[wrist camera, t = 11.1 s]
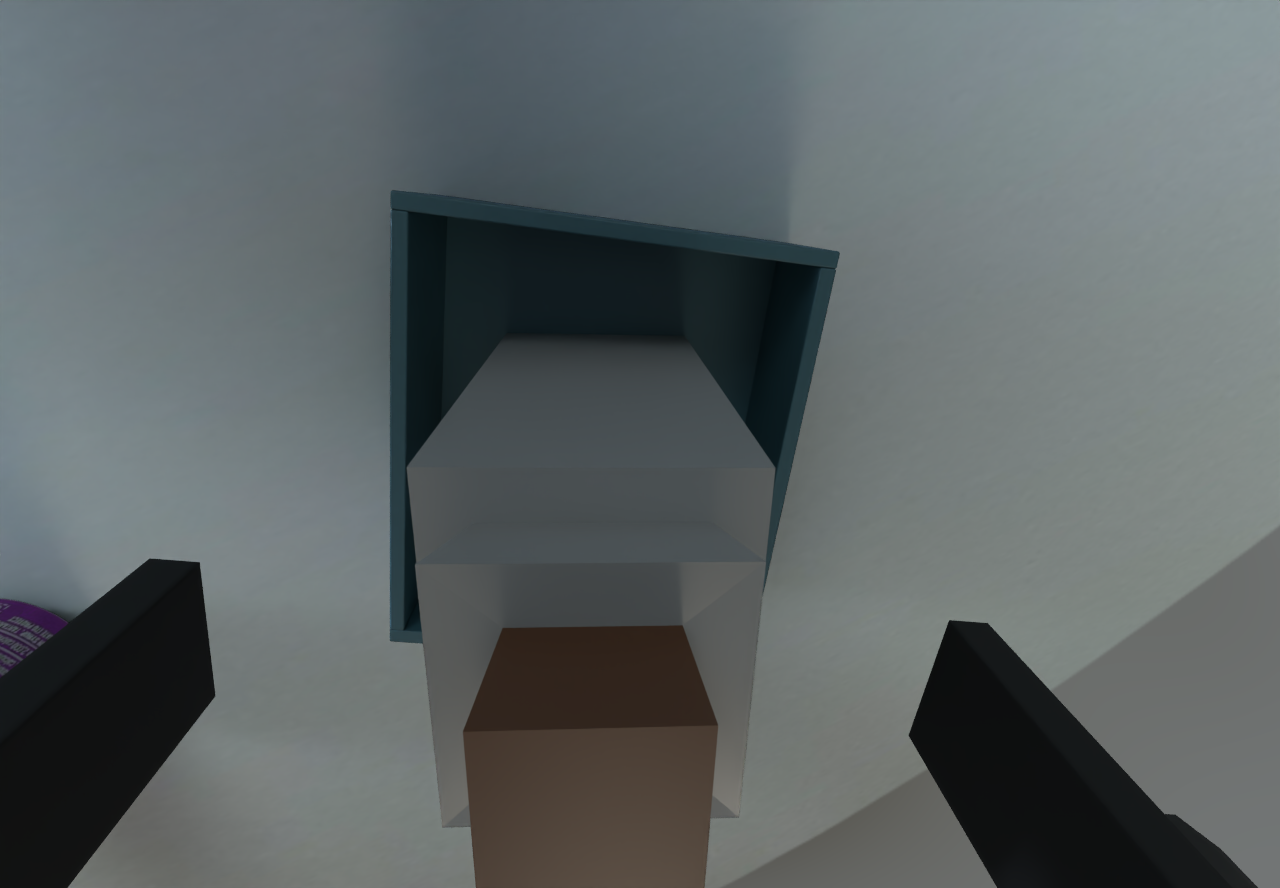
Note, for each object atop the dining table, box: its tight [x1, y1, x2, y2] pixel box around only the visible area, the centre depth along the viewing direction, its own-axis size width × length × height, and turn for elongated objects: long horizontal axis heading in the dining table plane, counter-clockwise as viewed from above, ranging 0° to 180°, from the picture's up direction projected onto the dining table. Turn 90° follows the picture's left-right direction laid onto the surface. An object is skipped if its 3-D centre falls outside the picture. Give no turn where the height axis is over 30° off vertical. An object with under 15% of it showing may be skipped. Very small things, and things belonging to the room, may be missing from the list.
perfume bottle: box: [407, 333, 775, 888], centre depth 17 cm, size 7×7×18 cm
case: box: [390, 190, 840, 643], centre depth 24 cm, size 15×13×6 cm
